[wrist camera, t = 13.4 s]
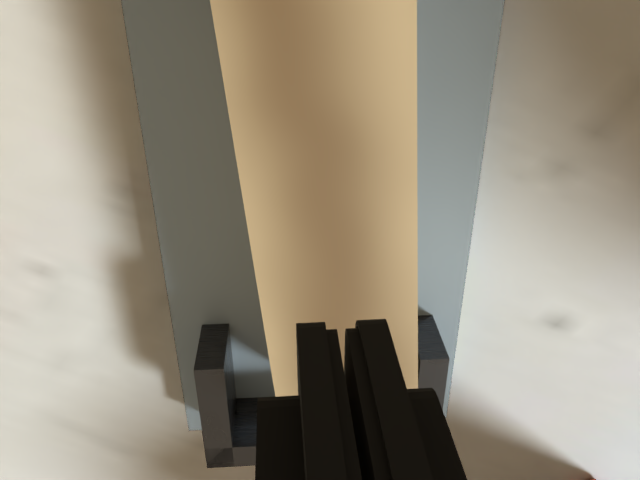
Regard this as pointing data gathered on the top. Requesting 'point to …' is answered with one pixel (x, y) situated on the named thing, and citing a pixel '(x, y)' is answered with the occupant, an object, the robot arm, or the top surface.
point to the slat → (326, 165)
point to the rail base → (229, 215)
